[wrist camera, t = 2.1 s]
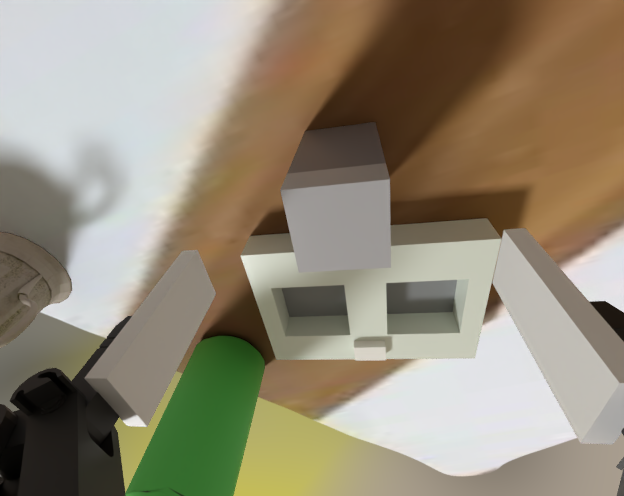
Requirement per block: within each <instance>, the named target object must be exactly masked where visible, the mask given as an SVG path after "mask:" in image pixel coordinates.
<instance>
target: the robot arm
mask: <svg viewBox="0 0 624 496" xmlns="http://www.w3.org/2000/svg"><path fill="white" fill-rule="evenodd" d="M492 283H493V285H494V287H495V289H496V290H497V292H498V294H499V296H500V298H501V299H502V301H503V303H504V305H505V307H506V309H507V310H508V312H509V314H510V316H511V318H512V319H513V321H514V323H515V325H516V327H517V329H518V330H519V332H520V334H521V336H522V338H523V339H524V341H525V343H526V345H527V347H528V349H529V350H530V352H531V354H532V356H533V358H534V359H535V361H536V363H537V365H538V367H539V369H540V370H541V372H542V374H543V376H544V378H545V379H546V381H547V383H548V385H549V387H550V389H551V390H552V392H553V394H554V396H555V398H556V399H557V401H558V403H559V405H560V407H561V409H562V410H563V412H564V414H565V416H566V418H567V419H568V421H569V423H570V425H571V427H572V429H573V430H574V432H575V434H576V436H577V438H578V439H579V441H580V443H590V444H613V443H614V442H615V441H616V440H617V438H618V437H619V436H620V435H621V433H622V434H623V435H624V313H623V312H622V311H620V310H619V309H617V308H615V307H614V306H612V305H610V304H609V303H607V302H606V301H596V302H589V301H588V300H587V299H586V298H585V297H584V295H583V294H582V293H581V292H580V291H579V290H578V289H577V287H576V286H575V285H574V284H573V283H572V282H571V280H570V279H569V278H568V277H567V276H566V275H565V274H564V272H563V271H562V270H561V269H560V268H559V267H558V265H557V264H556V263H555V262H554V261H553V260H552V259H551V257H550V256H549V255H548V254H547V253H546V252H545V250H544V249H543V248H542V247H541V246H540V245H539V244H538V242H537V241H536V240H535V239H534V238H533V237H532V235H531V234H530V233H529V232H528V231H527V230H526V229H525V228H520V229H505V230H504V231H503V236H502V240H501V245H500V250H499V254H498V259H497V264H496V268H495V273H494V278H493V282H492ZM215 295H216V293H215V290H214V288H213V286H212V283H211V281H210V279H209V276H208V274H207V271H206V269H205V267H204V264H203V262H202V260H201V257H200V255H199V252H198V250H190V251H182V252H181V254H180V255H179V256H178V257H177V259H176V260H175V261H174V263H173V264H172V265H171V266H170V268H169V269H168V270H167V272H166V273H165V274H164V276H163V277H162V278H161V279H160V281H159V282H158V283H157V285H156V286H155V287H154V289H153V290H152V291H151V292H150V294H149V295H148V296H147V298H146V299H145V300H144V301H143V303H142V304H141V305H140V307H139V308H138V309H137V311H136V312H135V313H134V314H133V316H128V317H126V318H125V319H124V320H123V321H121V322H120V323H119V324H118V325H116V326H115V328H114V329H113V330H112V331H111V333H110V334H109V335H108V336H107V339H105V340H104V341H103V343H102V344H101V345H100V348H99V349H97V350H96V351H95V353H94V354H93V355H92V356H91V358H90V359H89V360H88V361H87V363H86V364H85V366H83V368H82V369H81V370H80V371H79V373H78V374H77V375H76V376H75V378H74V379H73V380H72V381H70V380H69V378H68V377H67V376H66V375H65V374H64V373H63V372H62V371H61V370H59V369H57V368H52V369H46V370H44V371H41V372H38V373H37V374H35V375H33V376H32V377H30V378H28V379H27V380H26V381H25V382H24V383H22V384H21V385H20V386H19V387H18V389H17V390H16V391H15V392H14V393H13V395H12V397H11V399H10V402H11V403H13V404H14V405H15V406H16V407H17V408H19V409H20V410H18V411H14V412H12V411H11V410H10V409H9V408H7V407H6V406H5V405H2V404H0V496H126V495H125V487H124V479H123V471H122V463H121V456H120V448H119V440H118V432H117V430H116V428H115V427H114V424H115V423H116V421H117V420H118V418H119V417H120V418H121V419H122V420H123V422H124V423H125V424H126V425H127V426H141V427H147V426H148V424H149V422H150V420H151V418H152V416H153V415H154V413H155V411H156V409H157V407H158V405H159V403H160V401H161V399H162V397H163V395H164V393H165V391H166V390H167V388H168V386H169V384H170V382H171V380H172V378H173V376H174V374H175V372H176V370H177V368H178V366H179V364H180V363H181V361H182V359H183V357H184V355H185V353H186V351H187V349H188V347H189V345H190V343H191V341H192V339H193V337H194V336H195V334H196V332H197V330H198V328H199V326H200V324H201V322H202V320H203V318H204V316H205V314H206V312H207V310H208V309H209V307H210V305H211V303H212V301H213V299H214V297H215ZM616 467H617V468H619V469H620V470H622V469H623V468H624V457H623V459H622V460H621V461H620V462H619V464H618V465H617V466H616ZM617 496H624V469H623V473H622V477H621V481H620V485H619V489H618V493H617Z"/></svg>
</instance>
